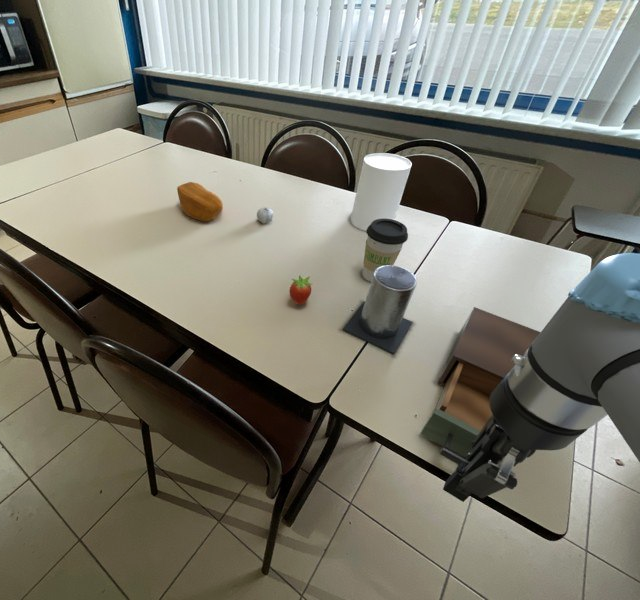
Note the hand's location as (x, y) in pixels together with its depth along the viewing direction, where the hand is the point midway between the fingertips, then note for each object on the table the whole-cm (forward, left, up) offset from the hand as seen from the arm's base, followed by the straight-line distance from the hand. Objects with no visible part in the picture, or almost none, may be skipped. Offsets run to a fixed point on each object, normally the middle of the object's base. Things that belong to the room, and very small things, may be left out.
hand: (454, 491), depth 52 cm
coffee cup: (+56, -13, -6) cm, 58 cm away
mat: (+38, -6, -6) cm, 39 cm away
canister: (+84, -24, -6) cm, 88 cm away
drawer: (+11, -11, -5) cm, 16 cm away
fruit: (+48, +10, -6) cm, 50 cm away
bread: (+99, +31, -6) cm, 104 cm away
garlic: (+89, +11, -6) cm, 90 cm away
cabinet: (+22, -22, -6) cm, 32 cm away
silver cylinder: (+38, -7, -6) cm, 39 cm away
